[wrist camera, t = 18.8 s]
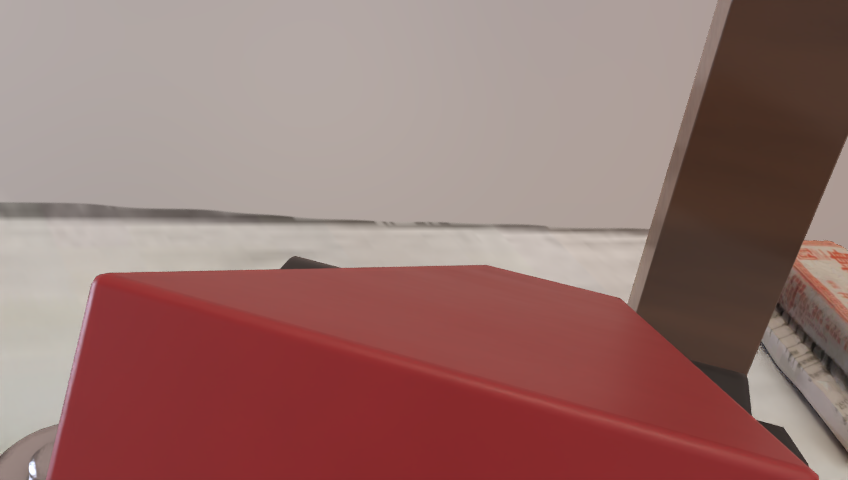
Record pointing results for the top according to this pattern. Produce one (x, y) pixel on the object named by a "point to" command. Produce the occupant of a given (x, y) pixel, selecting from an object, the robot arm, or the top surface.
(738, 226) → the wooden lectern
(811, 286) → the packaged product
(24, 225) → the top surface
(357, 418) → the long red slab
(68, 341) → the top surface
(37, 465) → the robot arm
